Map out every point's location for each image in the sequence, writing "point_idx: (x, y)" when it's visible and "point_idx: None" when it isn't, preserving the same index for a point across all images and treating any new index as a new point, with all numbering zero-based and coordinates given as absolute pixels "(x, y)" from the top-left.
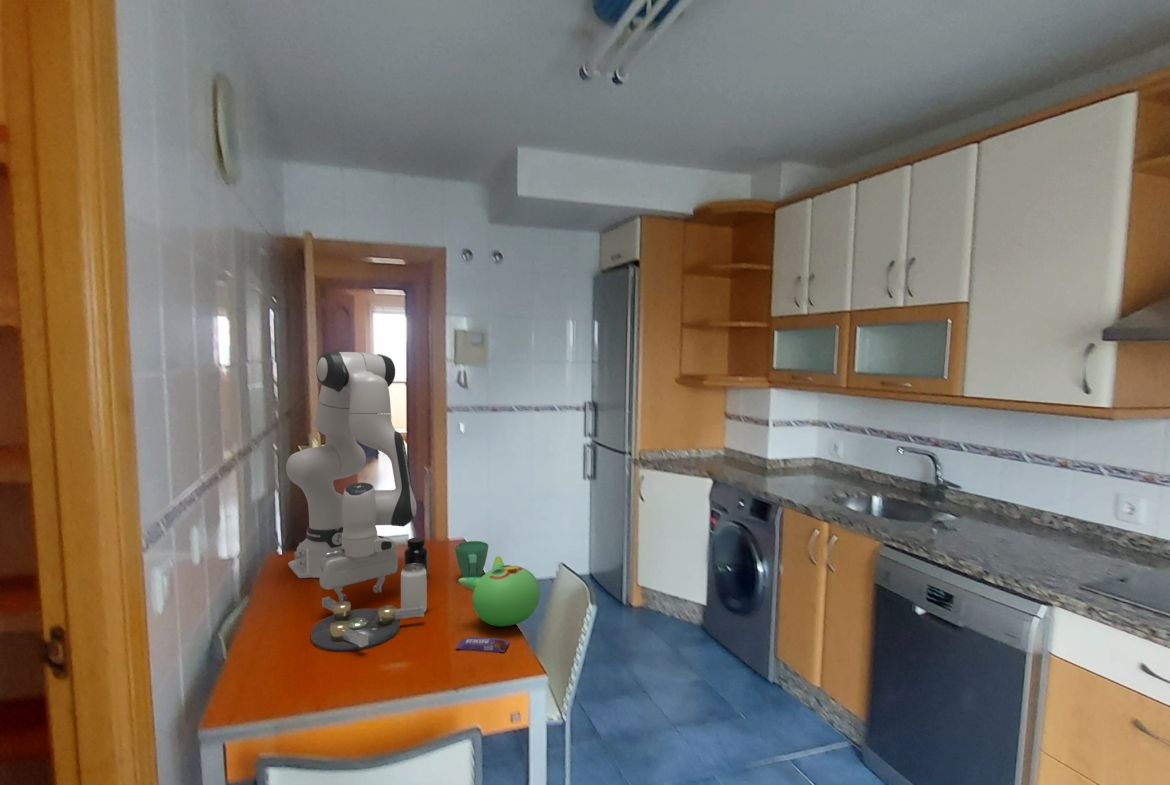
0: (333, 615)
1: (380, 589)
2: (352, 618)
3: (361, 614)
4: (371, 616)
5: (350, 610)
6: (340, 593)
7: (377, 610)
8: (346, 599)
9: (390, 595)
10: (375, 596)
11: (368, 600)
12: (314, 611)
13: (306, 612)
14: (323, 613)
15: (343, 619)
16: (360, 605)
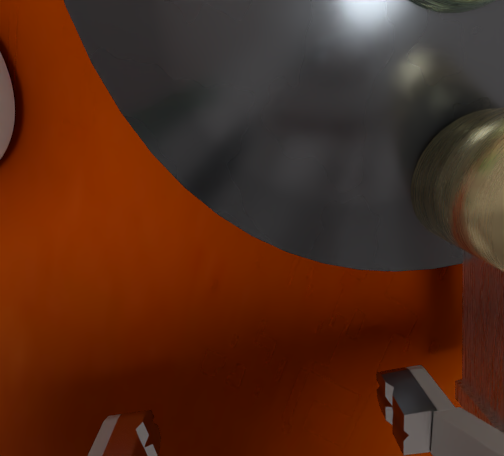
0: None
1: (102, 434)
2: (425, 101)
3: (334, 145)
4: (277, 44)
5: (463, 149)
6: (494, 438)
7: (197, 154)
8: (389, 382)
9: (71, 412)
10: None
11: (197, 404)
12: None
13: None
14: (448, 359)
15: None
16: (253, 366)
